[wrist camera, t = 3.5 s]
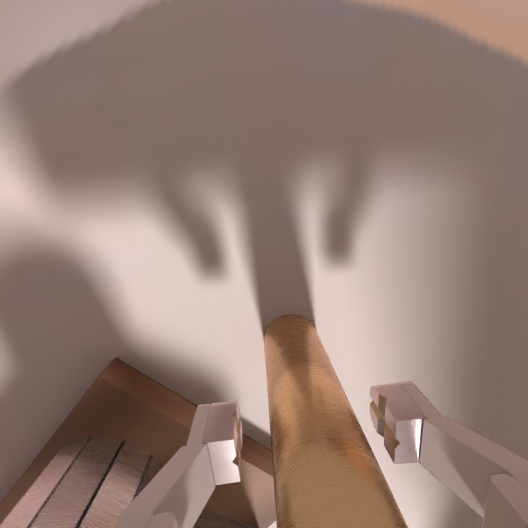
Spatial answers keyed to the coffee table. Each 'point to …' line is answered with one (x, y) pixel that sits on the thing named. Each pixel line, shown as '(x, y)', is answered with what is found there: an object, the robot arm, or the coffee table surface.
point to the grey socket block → (93, 488)
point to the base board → (155, 441)
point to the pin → (319, 439)
